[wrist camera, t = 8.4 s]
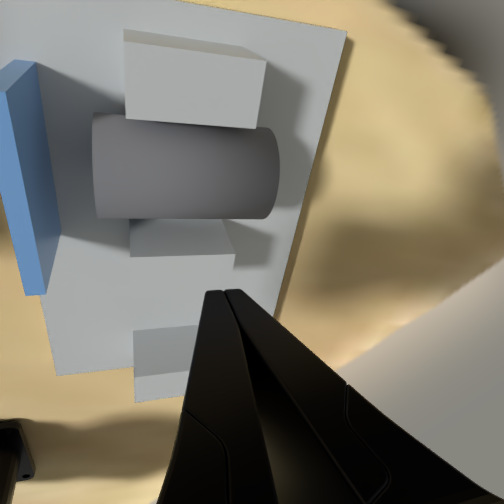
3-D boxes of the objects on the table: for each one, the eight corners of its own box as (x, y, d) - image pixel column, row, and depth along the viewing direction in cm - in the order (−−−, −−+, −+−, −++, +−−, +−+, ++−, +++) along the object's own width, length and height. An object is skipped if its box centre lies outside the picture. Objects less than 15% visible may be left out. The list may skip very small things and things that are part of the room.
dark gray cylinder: (253, 123, 15) (285, 132, 12) (245, 205, 17) (272, 231, 14) (97, 109, 14) (89, 115, 10) (102, 203, 15) (95, 232, 12)
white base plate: (259, 339, 25) (284, 407, 21) (59, 361, 21) (44, 448, 17) (335, 28, 15) (411, 47, 11) (-21, -36, 11) (-99, -42, 7)
